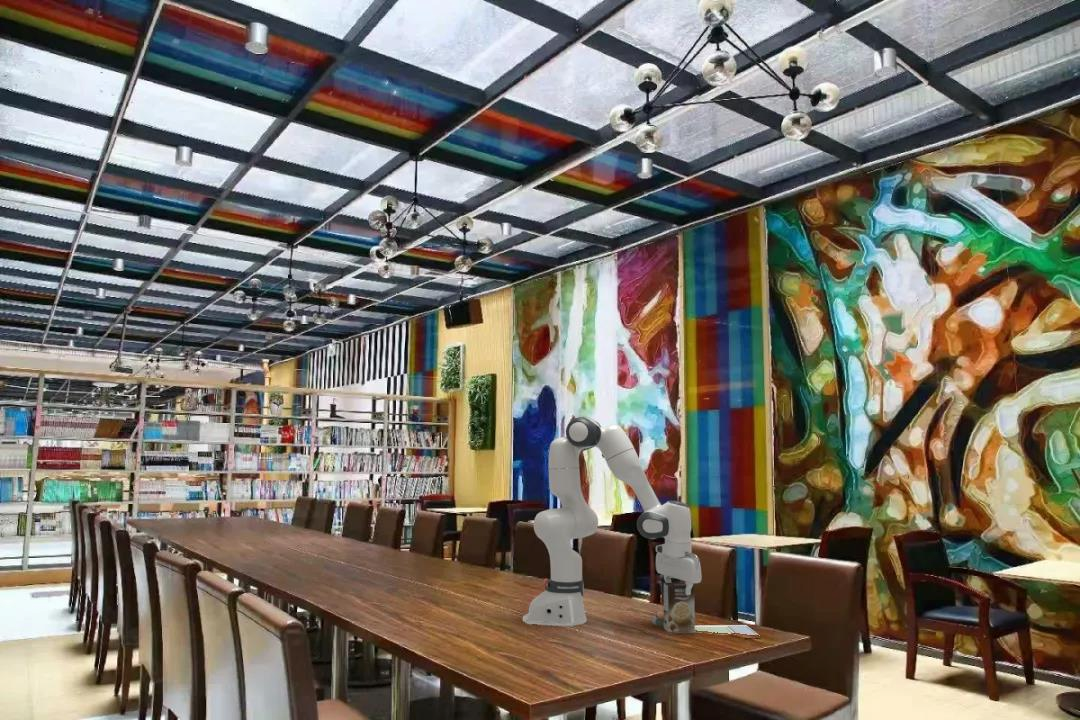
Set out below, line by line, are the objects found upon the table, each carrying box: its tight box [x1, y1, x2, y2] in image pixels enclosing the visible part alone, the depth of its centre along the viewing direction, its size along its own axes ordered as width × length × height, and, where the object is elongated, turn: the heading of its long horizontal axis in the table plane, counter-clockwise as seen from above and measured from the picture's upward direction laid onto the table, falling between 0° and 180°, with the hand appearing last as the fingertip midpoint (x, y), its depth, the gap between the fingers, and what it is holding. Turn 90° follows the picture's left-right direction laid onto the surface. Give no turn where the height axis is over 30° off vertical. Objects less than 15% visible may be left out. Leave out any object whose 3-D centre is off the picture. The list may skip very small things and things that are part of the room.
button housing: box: [651, 615, 664, 627], centre depth 255 cm, size 6×6×3 cm
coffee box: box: [663, 582, 696, 634], centre depth 246 cm, size 9×6×16 cm
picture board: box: [695, 624, 759, 635], centre depth 246 cm, size 20×15×1 cm
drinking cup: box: [659, 574, 681, 606], centre depth 273 cm, size 8×8×20 cm
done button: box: [656, 611, 664, 619], centre depth 255 cm, size 3×3×2 cm
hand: (678, 591), depth 247 cm, fingers open, 8 cm apart
